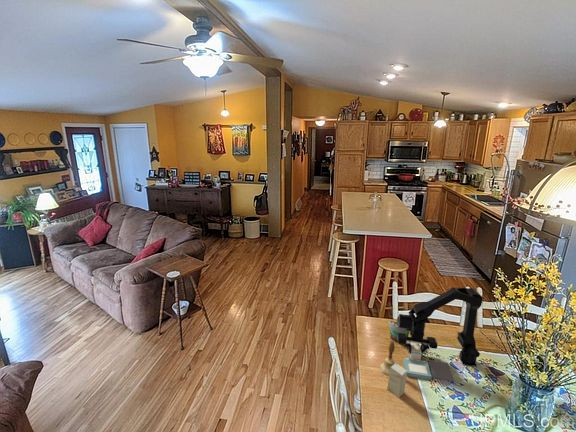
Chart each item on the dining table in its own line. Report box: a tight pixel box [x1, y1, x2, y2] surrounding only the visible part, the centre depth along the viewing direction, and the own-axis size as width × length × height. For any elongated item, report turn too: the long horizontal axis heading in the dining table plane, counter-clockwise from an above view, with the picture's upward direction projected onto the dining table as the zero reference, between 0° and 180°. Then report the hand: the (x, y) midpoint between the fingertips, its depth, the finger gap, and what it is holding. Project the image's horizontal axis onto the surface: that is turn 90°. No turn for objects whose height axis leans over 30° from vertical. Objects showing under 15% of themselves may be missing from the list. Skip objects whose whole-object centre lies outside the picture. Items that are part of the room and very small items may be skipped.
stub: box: [409, 342, 423, 361], centre depth 159 cm, size 4×7×6 cm, turn 168°
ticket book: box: [403, 357, 433, 381], centre depth 150 cm, size 11×10×2 cm
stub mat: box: [427, 359, 456, 383], centre depth 150 cm, size 10×12×1 cm
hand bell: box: [379, 340, 396, 376], centre depth 149 cm, size 8×8×16 cm
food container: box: [388, 319, 410, 343], centre depth 171 cm, size 12×6×10 cm, turn 62°
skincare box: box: [387, 362, 408, 398], centre depth 137 cm, size 6×4×12 cm
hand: (414, 354), depth 159 cm, fingers closed on stub, 4 cm apart
